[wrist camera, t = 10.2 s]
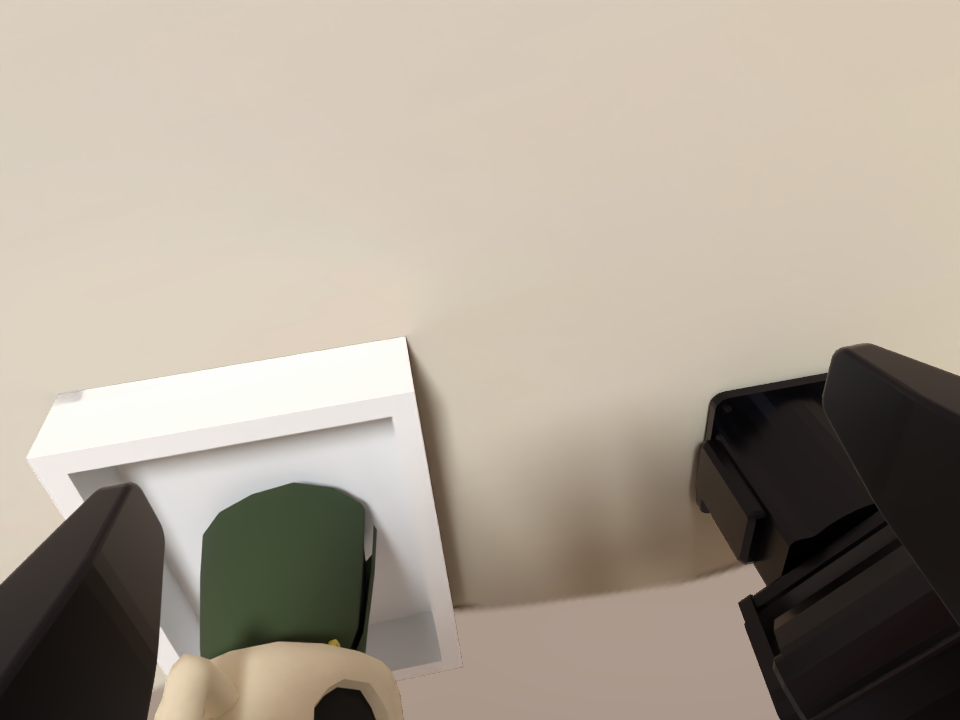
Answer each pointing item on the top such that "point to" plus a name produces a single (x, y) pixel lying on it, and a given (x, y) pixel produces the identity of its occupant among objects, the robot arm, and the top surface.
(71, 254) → the top surface
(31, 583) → the robot arm
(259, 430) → the white open box
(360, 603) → the character mug
